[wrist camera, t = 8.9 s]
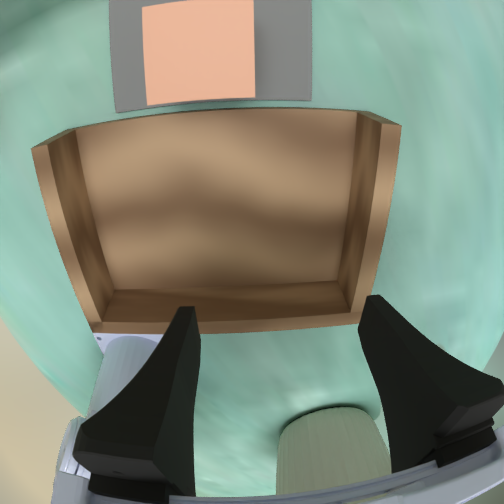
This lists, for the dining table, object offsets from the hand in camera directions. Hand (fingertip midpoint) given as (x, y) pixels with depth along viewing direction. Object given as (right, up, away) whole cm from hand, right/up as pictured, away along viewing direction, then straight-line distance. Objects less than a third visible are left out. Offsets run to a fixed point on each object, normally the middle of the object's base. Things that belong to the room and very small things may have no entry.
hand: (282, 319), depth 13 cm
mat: (-4, +16, +2) cm, 17 cm away
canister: (+9, -22, +27) cm, 36 cm away
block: (-4, +14, +3) cm, 15 cm away
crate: (-4, +6, +9) cm, 11 cm away
